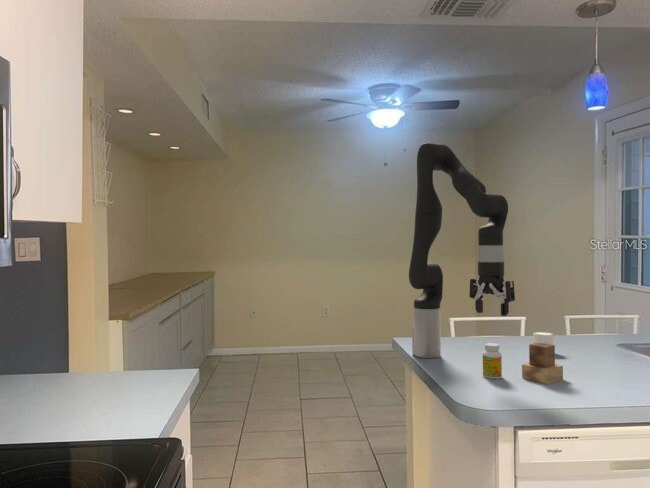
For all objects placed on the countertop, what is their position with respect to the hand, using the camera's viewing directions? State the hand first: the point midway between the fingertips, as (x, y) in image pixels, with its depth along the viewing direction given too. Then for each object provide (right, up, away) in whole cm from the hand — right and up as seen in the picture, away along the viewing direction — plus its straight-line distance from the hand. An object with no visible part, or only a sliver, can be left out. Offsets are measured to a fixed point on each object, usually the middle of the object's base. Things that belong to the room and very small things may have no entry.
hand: (491, 314), depth 142 cm
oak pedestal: (+14, -19, -3) cm, 24 cm away
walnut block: (+14, -15, -3) cm, 20 cm away
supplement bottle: (0, -19, 0) cm, 19 cm away
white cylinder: (+30, -19, +30) cm, 46 cm away
